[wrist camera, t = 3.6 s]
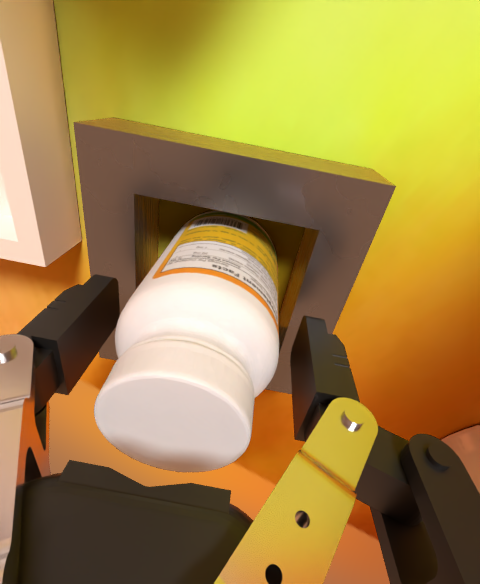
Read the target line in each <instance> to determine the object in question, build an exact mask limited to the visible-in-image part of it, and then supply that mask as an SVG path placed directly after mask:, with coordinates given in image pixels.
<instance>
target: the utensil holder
mask: <svg viewBox="0 0 480 584" xmlns="http://www.w3.org/2000/svg"><path fill="white" fill-rule="evenodd" d="M441 441H443V442H444V443H445V444H447V445H448V446H449V447H450V448H451V449H452V450H453V451H454V452H455V453H456V454H457V455H458V456H459V458H460V459H461V461H462V462H463V464H464V466H465V468H466V470H467V472H468V473H469V475H470V477H471V479H472V481H473V482H474V484H475V486H476V488H477V490H478V492H479V493H480V425H477V426H473V427H470V428H467V429H464V430H461V431H459V432H456V433H454V434H451V435H449V436H447V437H445V438H443V439H442V440H441Z"/></svg>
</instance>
